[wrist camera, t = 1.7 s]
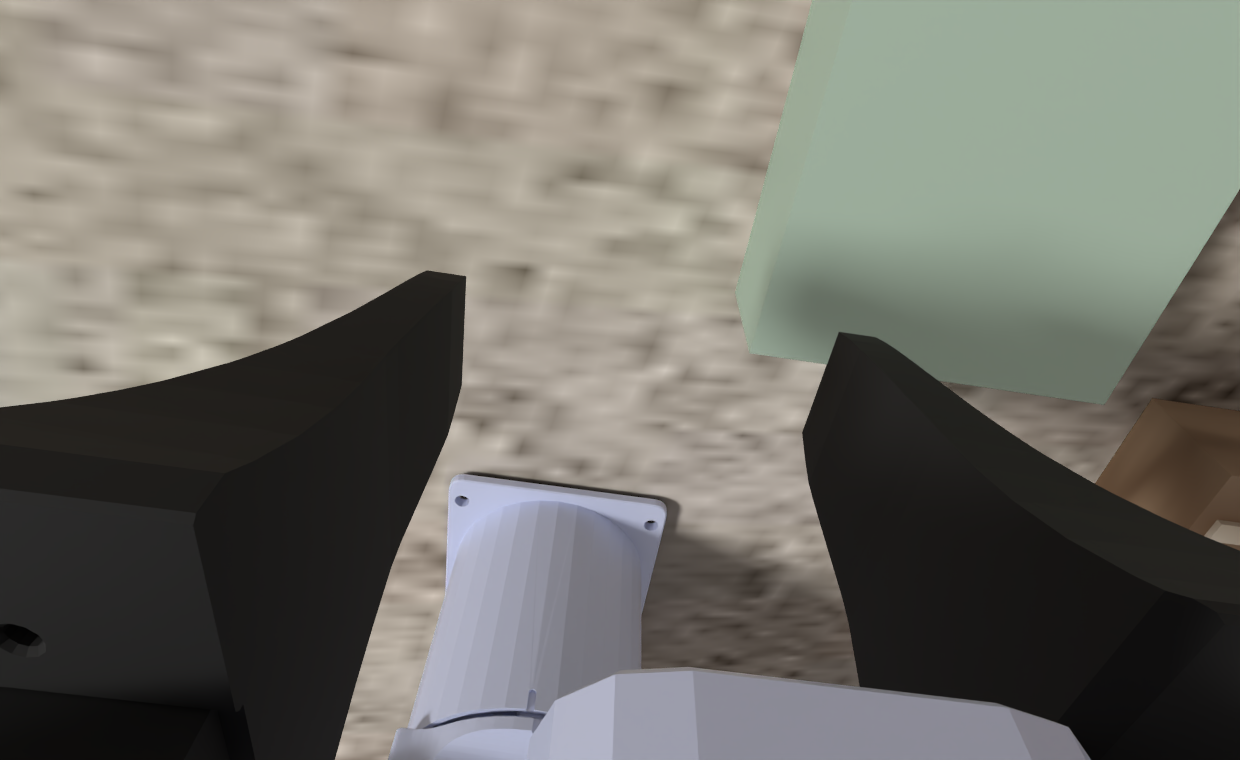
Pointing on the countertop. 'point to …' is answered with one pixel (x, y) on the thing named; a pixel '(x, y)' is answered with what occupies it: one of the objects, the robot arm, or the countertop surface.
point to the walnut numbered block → (1182, 468)
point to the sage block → (994, 184)
